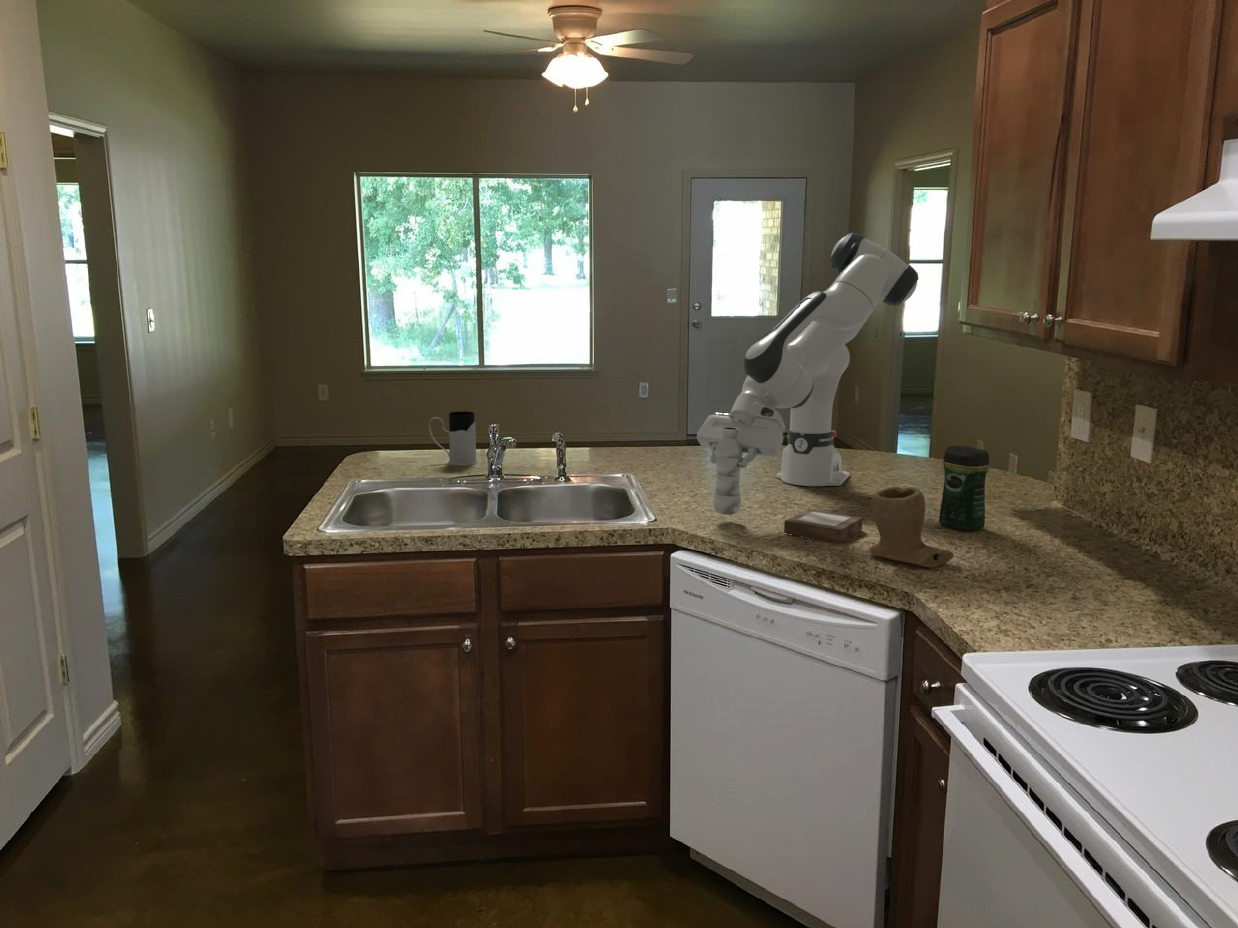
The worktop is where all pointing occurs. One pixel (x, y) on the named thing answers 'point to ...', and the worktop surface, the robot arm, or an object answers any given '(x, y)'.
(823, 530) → the walnut slab
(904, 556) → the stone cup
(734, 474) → the plastic bottle
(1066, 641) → the worktop surface
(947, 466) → the coffee jar
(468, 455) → the grey and black mug
